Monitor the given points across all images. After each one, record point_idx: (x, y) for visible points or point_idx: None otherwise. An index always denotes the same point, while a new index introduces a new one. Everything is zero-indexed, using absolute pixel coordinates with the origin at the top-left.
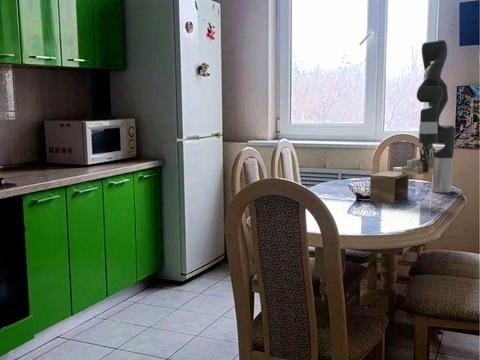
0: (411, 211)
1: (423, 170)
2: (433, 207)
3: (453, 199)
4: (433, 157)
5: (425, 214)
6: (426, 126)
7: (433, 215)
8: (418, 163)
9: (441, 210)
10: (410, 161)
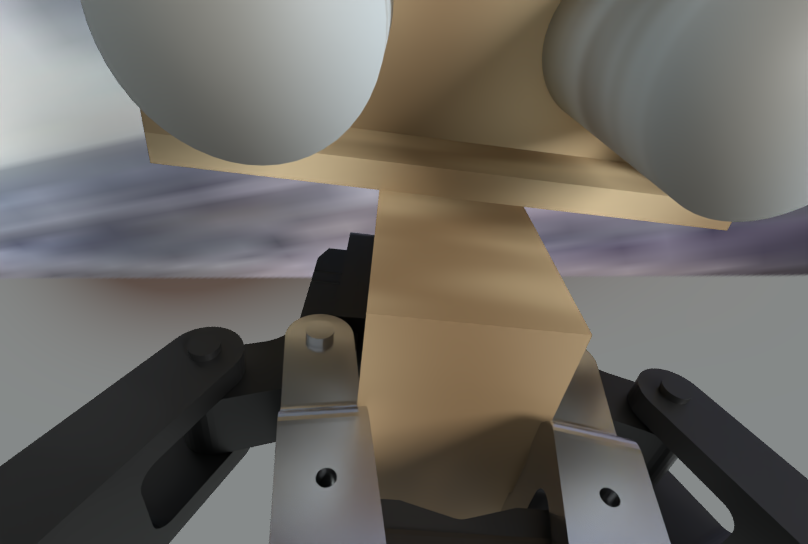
0: (20, 97)
1: (325, 257)
2: (288, 205)
3: (669, 265)
4: (675, 520)
5: (8, 206)
6: None
7: (23, 251)
8: (624, 159)
9: (215, 263)
10: (108, 35)
